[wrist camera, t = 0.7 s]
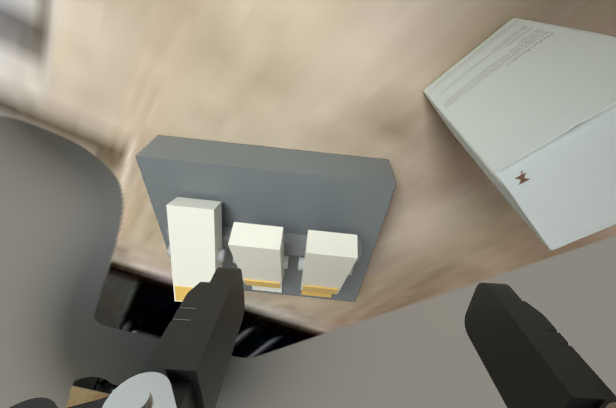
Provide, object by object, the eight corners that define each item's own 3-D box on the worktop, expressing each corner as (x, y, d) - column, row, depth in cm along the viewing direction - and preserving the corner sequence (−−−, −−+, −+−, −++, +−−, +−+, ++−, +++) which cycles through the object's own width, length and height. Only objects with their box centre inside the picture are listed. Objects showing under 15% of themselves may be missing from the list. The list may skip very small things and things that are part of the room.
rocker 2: (301, 229, 23) (299, 253, 21) (363, 235, 23) (364, 260, 21) (297, 271, 31) (295, 290, 30) (342, 275, 31) (342, 295, 30)
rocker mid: (227, 221, 23) (220, 245, 21) (289, 227, 23) (286, 252, 21) (243, 265, 31) (239, 284, 30) (288, 270, 31) (286, 289, 30)
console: (158, 135, 27) (125, 164, 22) (388, 159, 27) (399, 193, 22) (191, 258, 38) (174, 293, 34) (353, 275, 38) (356, 312, 34)
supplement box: (463, 149, 26) (546, 256, 16) (420, 89, 23) (489, 174, 13) (554, 92, 22) (733, 183, 12) (517, 11, 19) (717, 46, 9)
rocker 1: (171, 196, 25) (159, 204, 23) (227, 202, 25) (219, 211, 23) (179, 287, 29) (168, 301, 27) (227, 292, 29) (220, 306, 27)
